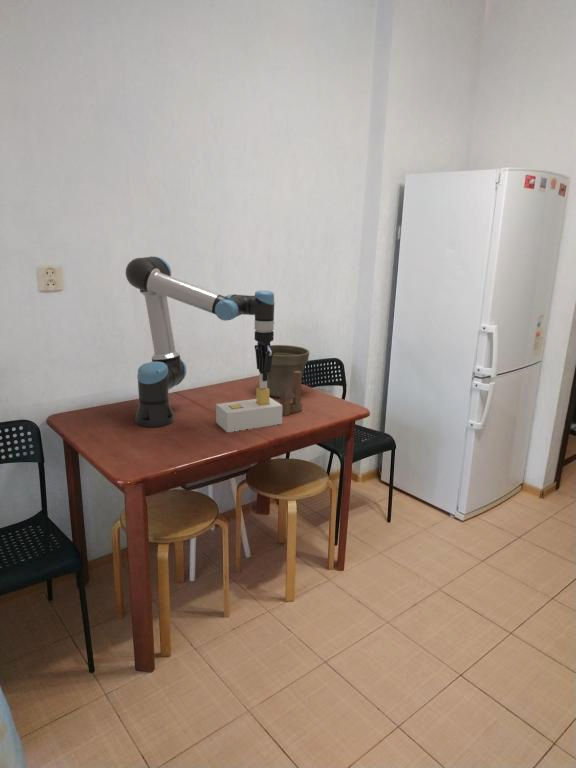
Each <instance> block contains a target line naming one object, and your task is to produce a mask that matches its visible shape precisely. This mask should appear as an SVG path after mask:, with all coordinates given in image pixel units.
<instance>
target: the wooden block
mask: <svg viewBox="0 0 576 768" xmlns="http://www.w3.org/2000/svg"><path fill="white" fill-rule="evenodd" d="M302 376H303V375H302V372H301V371H294V372H293V392H292V391H291V390H290V389H289V388H288V387H287V385H286V384H283V383H280V395H279V397H278V398H279V400H278V401H279V402H278V403H279V404H281V405H283V407H282V417H283V416H284V417H286V416H290V415H291V414H295V413H299V412H302V410H303V403H302V402H301V401H302V399H301V398H302V397H301V396H302V378H301V377H302Z"/></svg>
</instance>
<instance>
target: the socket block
mask: <svg viewBox="0 0 576 768" xmlns="http://www.w3.org/2000/svg"><path fill="white" fill-rule="evenodd" d="M236 404H239V405H240V406H242V408H239V409H231V408H230V407H229V405H236ZM282 407H283V405H281V404H279V402H278V401H276V400H275V399H273V398H271V397H270V396H269V404H268V405H258V404H257V403H256V398H253V399H246V400H239V401H230V402H221V403H216V405H215V413H216V414H215V415H216V418H215V423H216V424H217V425H218V426H219V427H220V428H222V430H224V431H225V432H226V433H227V434H228V432H229V433H234V431H235V432H240V431H239V430H241V431H246V429H248V430H253V428H254V429H260V428H264V427H265V428H266V427H270V426H272V427H273V426H278V424H279V425H283V415H282Z"/></svg>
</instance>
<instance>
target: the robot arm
mask: <svg viewBox="0 0 576 768" xmlns="http://www.w3.org/2000/svg"><path fill="white" fill-rule="evenodd" d="M125 277H126V280H127V282H128V283H129V284H130V285H131V286H132V287H134V288H136V289H138V290H139V292H140V294H142V295H143V296H144V298H145V303H146V304H145V306H146V311H147V315H148V322H149V328H150V334H151V335H150V336H151V341H152V347H153V352H154V354H153V356H152V357H151V361H150V362H146V363H143V364H141V365H140V366H139V367H138V369H137V377H136V378H137V386H138V387H137V388H138V389H137V390H138V406H137V409H136V413H135V417H134V418H135V424H136V425H138V426H141V427H146V428H158V427H165V426H168V425H170V424H172V423H173V422H174V420H175V419H174V417H175V415H174V412H173V410H172V407H171V405H170V400H169V399H170V398H169V396H170V395H169V391H170V390H171V389H172V388H174V387H177V386H178V385H180V384H181V382H182V381H183V380H185V377H186V375H187V366H186V364H185V362H184V361H183V360H182V359H181V355H180V352H178V351H177V350H176V347H175V346H176V345H175V340H174V335H173V327H172V322H171V315H170V309H169V303H168V298H171V299H173V300H175V301H179V302H181V303H183V304H187V305H189V306H191V307H194V308H197V309H200V310H203V311H205V312H207V313H210V314H213V315H215V316H216V317H217V318H218V319H220V320H221V321H224V322H225V321H231V320H233V319H235V318H237V317H239V316H242V315H248V316H254V341H256V342H257V344H255V345H254V351H255V362H256V369H257V370H258V371H259V372H258V373H259V388H261V389H264V388H267V373H269V372H270V371H271V364H272V356H273V354H274V351H271V349H270V348H271V345H272V344H271V342H273V341H274V328H275V327H274V325H275V321H274V320H275V305H276V304H275V303H276V302H275V294H274V292H273V291H270V290H256V291H255V292H254V295H248V294H247V295H246V294H236V293H235V294H227V295H226V296H225V295H222V294H220V293H217V292H214V291H211V290H208V289H206V288H203V287H199V286H198V285H195V284H192V283H189V282H188V281H185V280H181V279H178V278H176V277H173V276H172V269H171V266H170V264H169V263H168V262H167V261H166V260H165V259H164V258H161V257H159V256H147V257H146V256H145V257H136V258H133V259H132V260H131V261H129V262H128V263H127V265H126V267H125Z"/></svg>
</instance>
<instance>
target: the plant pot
mask: <svg viewBox="0 0 576 768" xmlns="http://www.w3.org/2000/svg"><path fill="white" fill-rule="evenodd" d="M270 345H271V348H270V349H271V351H274V354H273V356H272V364H271V371H270V372H269V373H267V388H268V389H270V396H271V397H274V398H279V395H280V383H283V384H286V385H287V387H288V388H289V389H290V390H291V391H292V392H293V372H294V371H301V372H302V376H303V374H304V371H305V368H306V364H307V363H308V361H309V357H310V356H309V355H310V350H309V349H307V348H304V347H301V346H296V345H289V344H288V345H287V344H285V345H284V344H270ZM301 379H302V377H301ZM270 396H269V397H270Z"/></svg>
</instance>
